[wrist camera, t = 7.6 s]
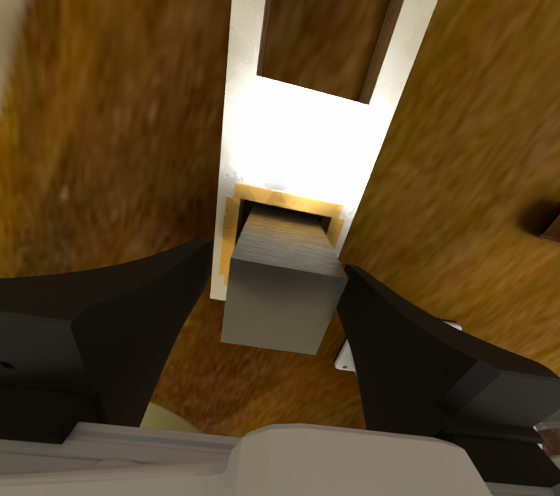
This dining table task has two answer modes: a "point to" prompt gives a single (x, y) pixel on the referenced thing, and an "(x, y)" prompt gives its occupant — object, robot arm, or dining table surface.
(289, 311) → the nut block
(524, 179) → the dining table surface
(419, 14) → the white rectangular board
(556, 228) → the tin
